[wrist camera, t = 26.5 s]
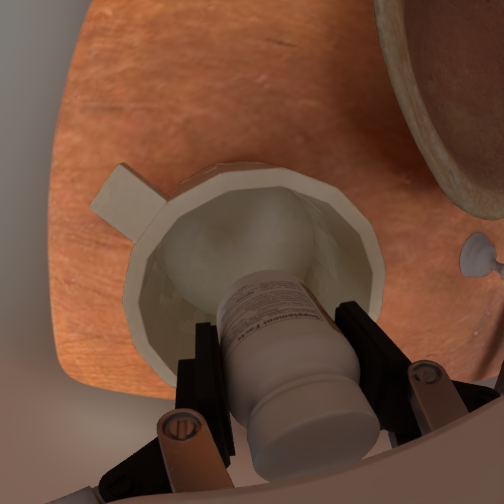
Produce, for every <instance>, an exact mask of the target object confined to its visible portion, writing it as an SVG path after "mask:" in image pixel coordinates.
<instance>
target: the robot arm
mask: <svg viewBox="0 0 504 504" xmlns="http://www.w3.org/2000/svg"><path fill="white" fill-rule="evenodd" d="M334 322H335V324H336V325H337V327H338V328H339V329H340V331H341V332H342V333H343V334H344V336H345V337H346V339H347V340H348V341H349V343H350V345H351V346H352V348H353V349H354V351H355V353H356V355H357V357H358V360H359V363H360V382H359V387H360V388H361V391H362V393H363V394H364V395H365V397H366V399H367V401H368V403H369V404H370V406H371V408H372V409H373V411H374V413H375V415H376V416H377V418H378V421H379V424H380V431H381V430H383V429H385V430H387V431H388V436H389V439H390V442H391V446H392V449H390V450H388V451H385V452H382V453H380V454H377V455H374V456H371V457H368V458H365V459H362V460H359V461H356V462H353V463H350V464H346V465H343V466H340V467H336V468H332V469H329V470H325V471H321V472H317V473H313V474H309V475H305V476H301V477H296V478H291V479H287V480H282V481H276V482H271V483H265V484H259V485H252V486H245V487H237V488H235V487H234V485H233V483H232V480H231V478H230V476H229V474H228V472H227V468H228V467H229V465H230V464H231V463H230V456H235V448H234V442H233V434H232V427H231V420H230V413H229V408H228V406H227V401H226V395H225V387H224V379H223V371H222V362H221V353H220V345H219V338H218V332H217V325H211V323H210V322H203V323H196V324H195V358H192V359H181V360H178V370H177V385H176V403H175V410H172V411H169V412H167V413H166V414H164V415H163V416H162V417H161V418H160V419H159V421H158V423H157V434H158V437H156V438H155V439H154V440H152V441H151V442H149V443H148V444H147V445H145V446H144V447H143V448H141V449H140V450H138V451H137V452H136V453H134V454H133V455H131V456H130V457H128V458H127V459H126V460H124V461H123V462H121V463H120V464H118V465H117V466H115V467H114V468H112V469H111V470H109V471H108V472H107V473H106V474H105V475H103V476H102V478H101V480H100V482H99V485H98V486H96V487H94V488H91V487H90V486H88V487H86V488H83V489H81V490H79V491H76V492H74V493H72V494H69V495H67V496H64V497H62V498H59V499H57V500H54V501H51V502H49V503H46V504H504V392H502V393H501V395H500V394H499V393H498V392H497V391H496V390H494V389H492V388H489V387H485V386H479V385H474V384H469V383H464V382H459V381H454V380H451V379H450V378H449V376H448V374H447V373H446V371H445V369H444V368H443V367H442V366H441V365H439V364H438V363H436V362H433V361H429V360H419V361H416V362H414V363H411V361H410V360H409V359H408V358H407V357H406V356H405V355H404V354H403V352H402V351H401V350H400V349H399V348H398V347H397V346H396V345H395V344H394V342H393V341H392V340H391V339H390V338H389V337H388V336H387V335H386V334H385V333H384V331H383V330H382V329H381V328H380V327H379V326H378V325H377V324H376V323H375V322H374V321H373V320H372V319H371V317H370V316H369V315H368V314H367V313H366V312H365V311H364V310H363V309H362V308H361V307H360V306H359V305H358V303H357V302H356V301H348V302H343V303H340V305H339V307H336V309H335V320H334Z"/></svg>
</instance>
